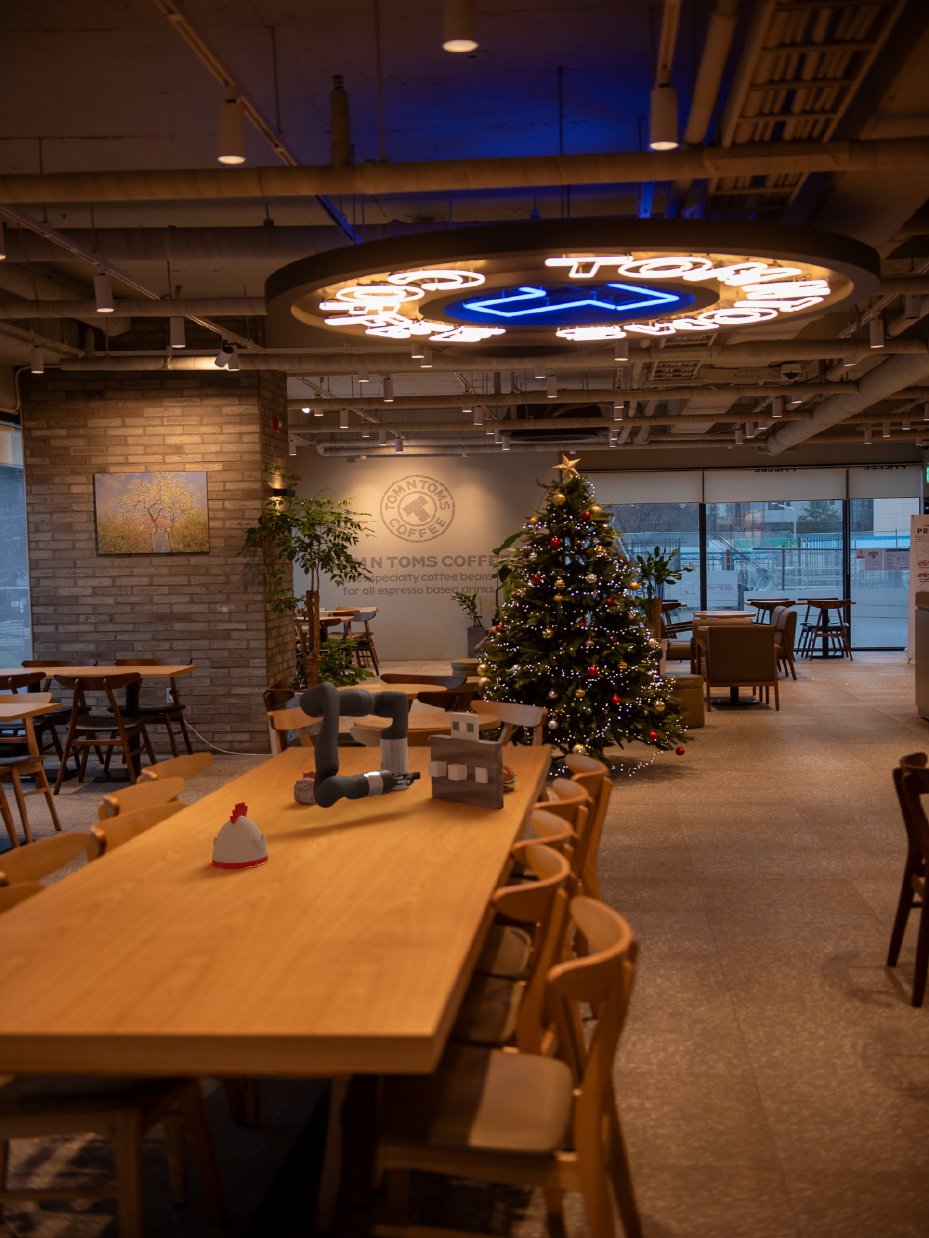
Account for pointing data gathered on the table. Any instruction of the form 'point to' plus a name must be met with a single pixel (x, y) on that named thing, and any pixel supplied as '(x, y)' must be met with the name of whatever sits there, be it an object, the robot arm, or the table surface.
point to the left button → (436, 768)
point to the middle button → (457, 772)
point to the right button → (481, 774)
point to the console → (469, 771)
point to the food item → (305, 789)
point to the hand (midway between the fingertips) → (418, 775)
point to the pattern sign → (464, 726)
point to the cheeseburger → (508, 778)
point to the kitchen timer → (239, 842)
